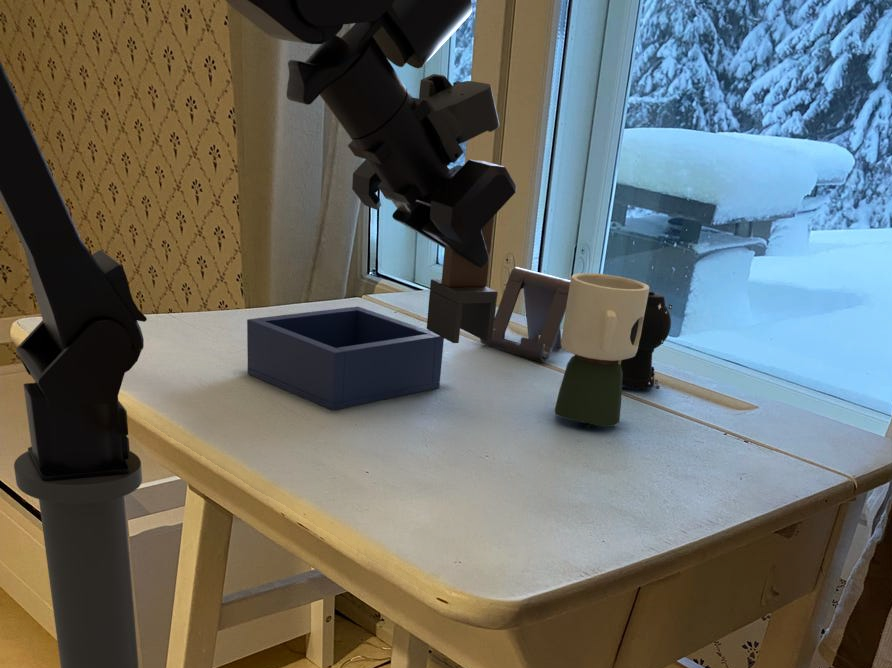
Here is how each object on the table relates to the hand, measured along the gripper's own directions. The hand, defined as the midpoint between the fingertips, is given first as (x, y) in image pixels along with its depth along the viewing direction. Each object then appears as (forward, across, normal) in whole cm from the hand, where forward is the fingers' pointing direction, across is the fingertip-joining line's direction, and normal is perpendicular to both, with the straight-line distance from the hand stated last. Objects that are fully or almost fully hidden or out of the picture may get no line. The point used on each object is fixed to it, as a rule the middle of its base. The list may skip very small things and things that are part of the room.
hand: (479, 261), depth 87 cm
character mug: (+16, -8, +3) cm, 18 cm away
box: (+3, +8, +15) cm, 18 cm away
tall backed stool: (+4, 0, +6) cm, 7 cm away
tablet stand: (+22, +16, -4) cm, 28 cm away
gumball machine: (+25, +1, -6) cm, 26 cm away
